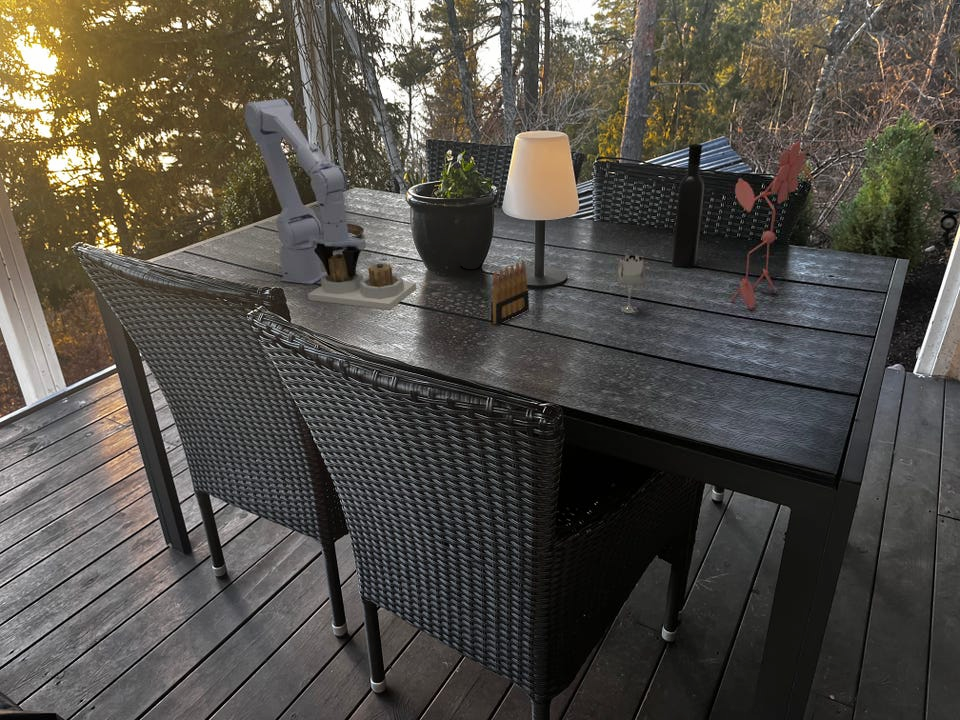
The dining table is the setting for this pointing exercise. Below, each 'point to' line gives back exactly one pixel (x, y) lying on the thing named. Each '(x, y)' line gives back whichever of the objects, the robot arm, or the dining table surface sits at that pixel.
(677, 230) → the wine bottle
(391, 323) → the dining table surface
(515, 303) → the ammunition clip
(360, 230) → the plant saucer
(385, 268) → the seated gear
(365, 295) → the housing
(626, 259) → the wineglass
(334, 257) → the loose gear
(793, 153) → the figurine
